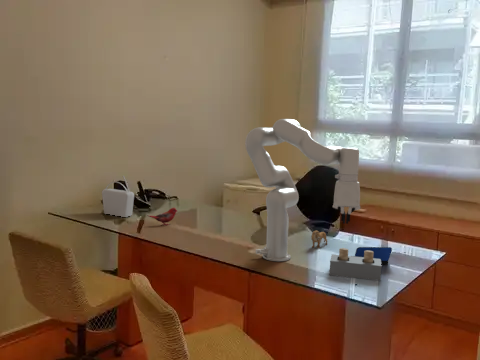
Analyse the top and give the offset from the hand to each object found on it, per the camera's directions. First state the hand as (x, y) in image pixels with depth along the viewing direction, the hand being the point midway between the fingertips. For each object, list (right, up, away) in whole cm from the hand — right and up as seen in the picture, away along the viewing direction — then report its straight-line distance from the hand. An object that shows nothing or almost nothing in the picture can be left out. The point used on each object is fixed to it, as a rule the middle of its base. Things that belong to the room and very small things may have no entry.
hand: (345, 222), depth 199 cm
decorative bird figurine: (-87, -9, +78) cm, 117 cm away
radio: (-118, -4, +102) cm, 156 cm away
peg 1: (0, -17, +2) cm, 17 cm away
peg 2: (+9, -18, 0) cm, 20 cm away
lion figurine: (-4, -16, +43) cm, 46 cm away
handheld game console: (+14, -20, +18) cm, 31 cm away
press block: (+4, -21, +2) cm, 22 cm away
